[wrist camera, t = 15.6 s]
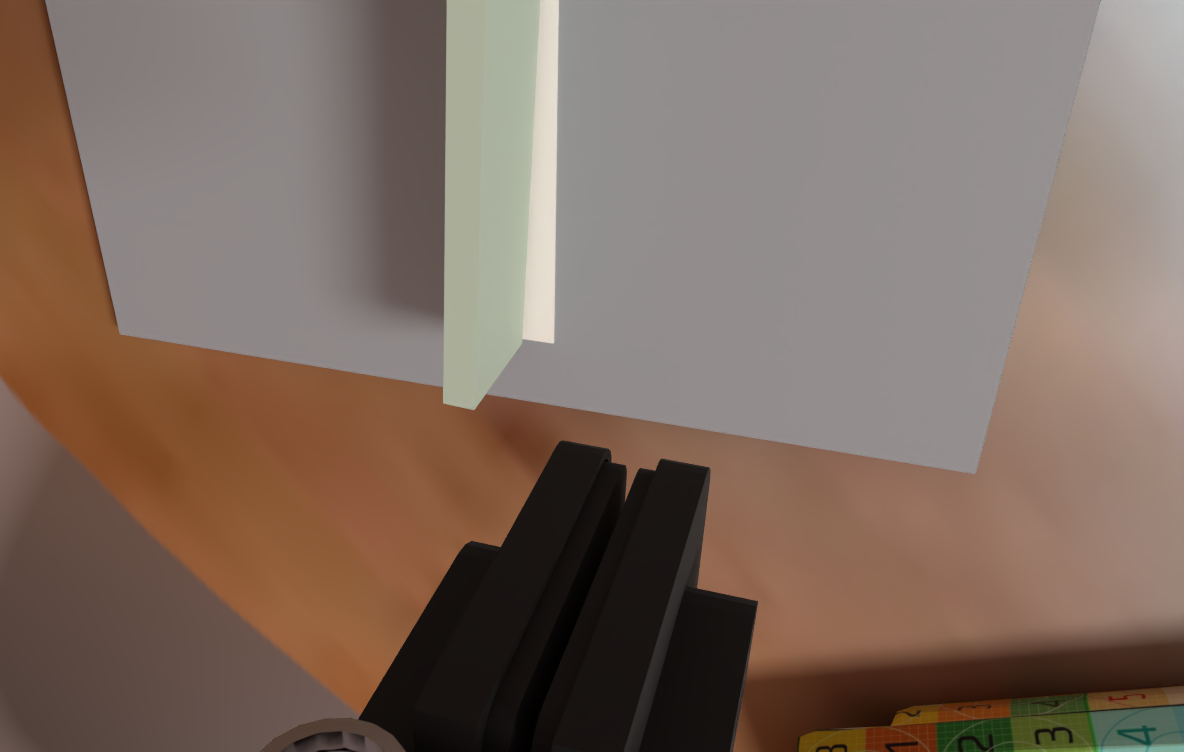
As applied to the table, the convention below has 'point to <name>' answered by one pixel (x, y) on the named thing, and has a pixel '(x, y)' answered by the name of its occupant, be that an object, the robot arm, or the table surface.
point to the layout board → (600, 198)
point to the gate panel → (486, 188)
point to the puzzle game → (1024, 725)
